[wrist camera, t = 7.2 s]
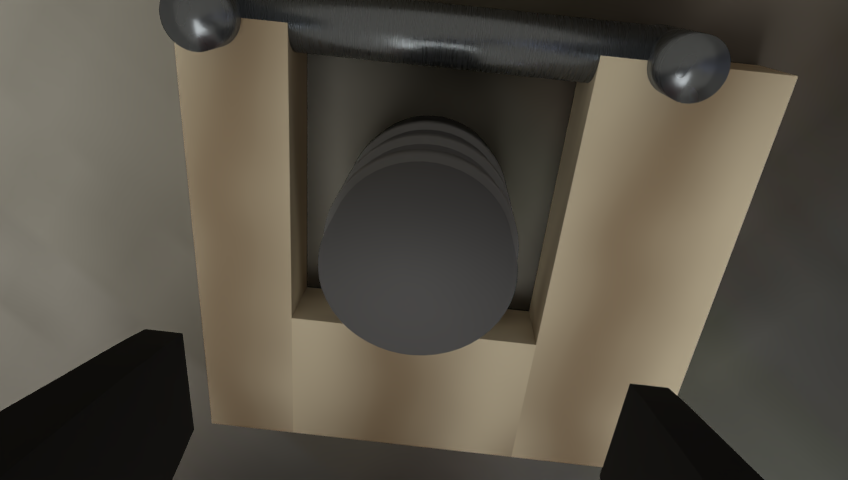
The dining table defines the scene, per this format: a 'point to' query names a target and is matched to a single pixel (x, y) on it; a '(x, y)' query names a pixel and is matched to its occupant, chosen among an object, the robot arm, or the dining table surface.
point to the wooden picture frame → (517, 330)
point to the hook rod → (464, 39)
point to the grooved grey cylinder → (421, 240)
